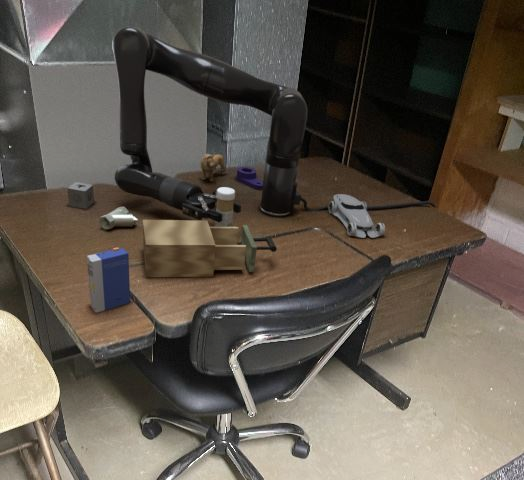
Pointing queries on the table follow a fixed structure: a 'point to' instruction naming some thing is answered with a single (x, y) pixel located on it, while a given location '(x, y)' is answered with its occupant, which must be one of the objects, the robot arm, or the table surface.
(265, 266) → the table surface
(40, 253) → the table surface
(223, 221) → the sprinkles bottle
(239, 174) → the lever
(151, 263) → the cabinet
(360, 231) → the car model
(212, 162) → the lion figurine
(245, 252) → the drawer
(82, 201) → the dice cube
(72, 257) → the table surface
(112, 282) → the walkman
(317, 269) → the table surface
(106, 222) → the pipe fitting
